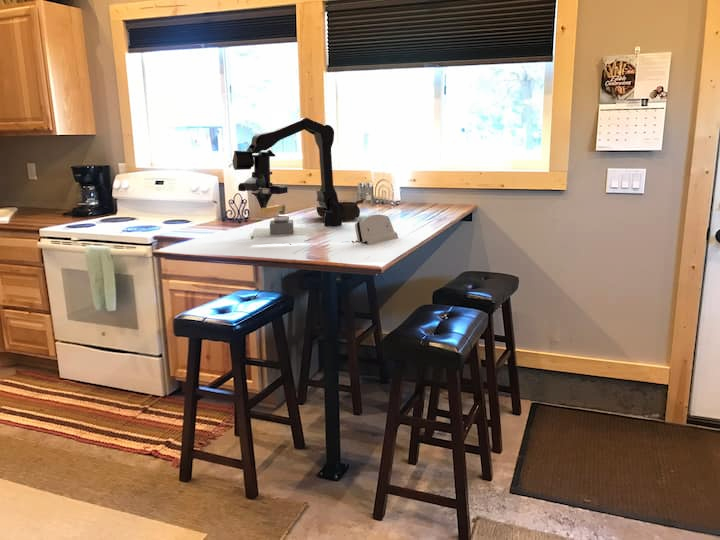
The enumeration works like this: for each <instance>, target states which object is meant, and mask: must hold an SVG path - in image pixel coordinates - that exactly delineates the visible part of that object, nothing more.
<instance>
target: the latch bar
mask: <svg viewBox="0 0 720 540" xmlns="http://www.w3.org/2000/svg"><path fill="white" fill-rule="evenodd" d="M282 210H285V211H286V204H283V203H282V204H276V205H271V206H266V207H265V208H261V207H260V213H261V214H263V215H266V214H272V213H277V212H279V211H282Z"/></svg>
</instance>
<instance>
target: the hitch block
mask: <svg viewBox="0 0 720 540" xmlns="http://www.w3.org/2000/svg"><path fill="white" fill-rule="evenodd" d="M278 214H286V210H282V211H278ZM304 235H305V236H308V235H311V236H312V235H318V230H317V226H302V227H300V226H298V227H297V226H296V227H295V226H294V219H289V222H287V223H275V222H274V219H273V220H272V219H271V220H270V222H269V227H266V228H264V227H263V228H254V229H253V232H252V233H251V236H250V239H251V240H253V239H254V238H257V237H279V236H281V237H283V236H304Z"/></svg>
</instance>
